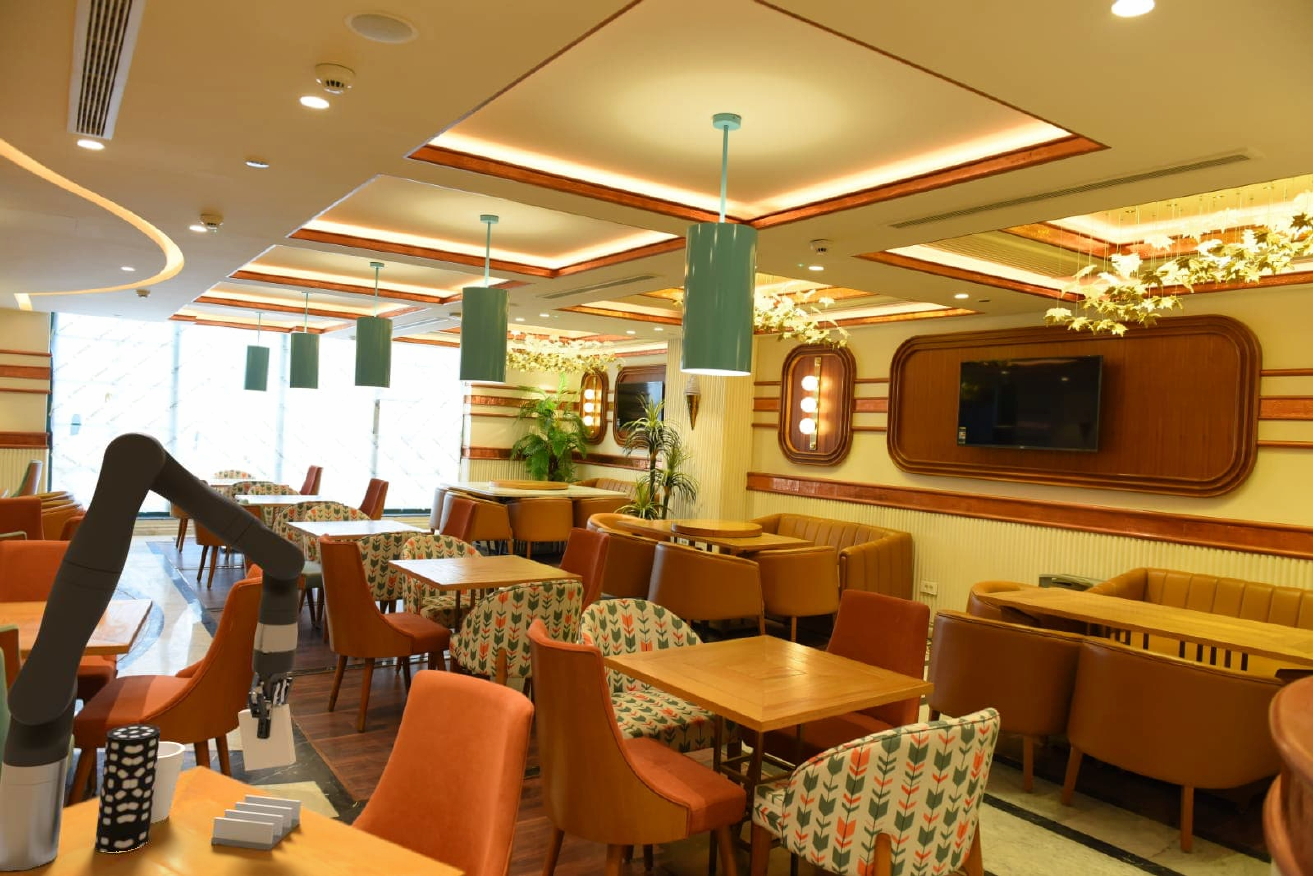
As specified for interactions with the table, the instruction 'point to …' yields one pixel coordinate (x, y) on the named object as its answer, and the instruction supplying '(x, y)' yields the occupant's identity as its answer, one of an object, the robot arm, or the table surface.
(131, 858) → the table surface
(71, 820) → the table surface
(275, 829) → the dish rack
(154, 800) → the foam cup
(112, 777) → the spotted tube
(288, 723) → the cream upright slab
